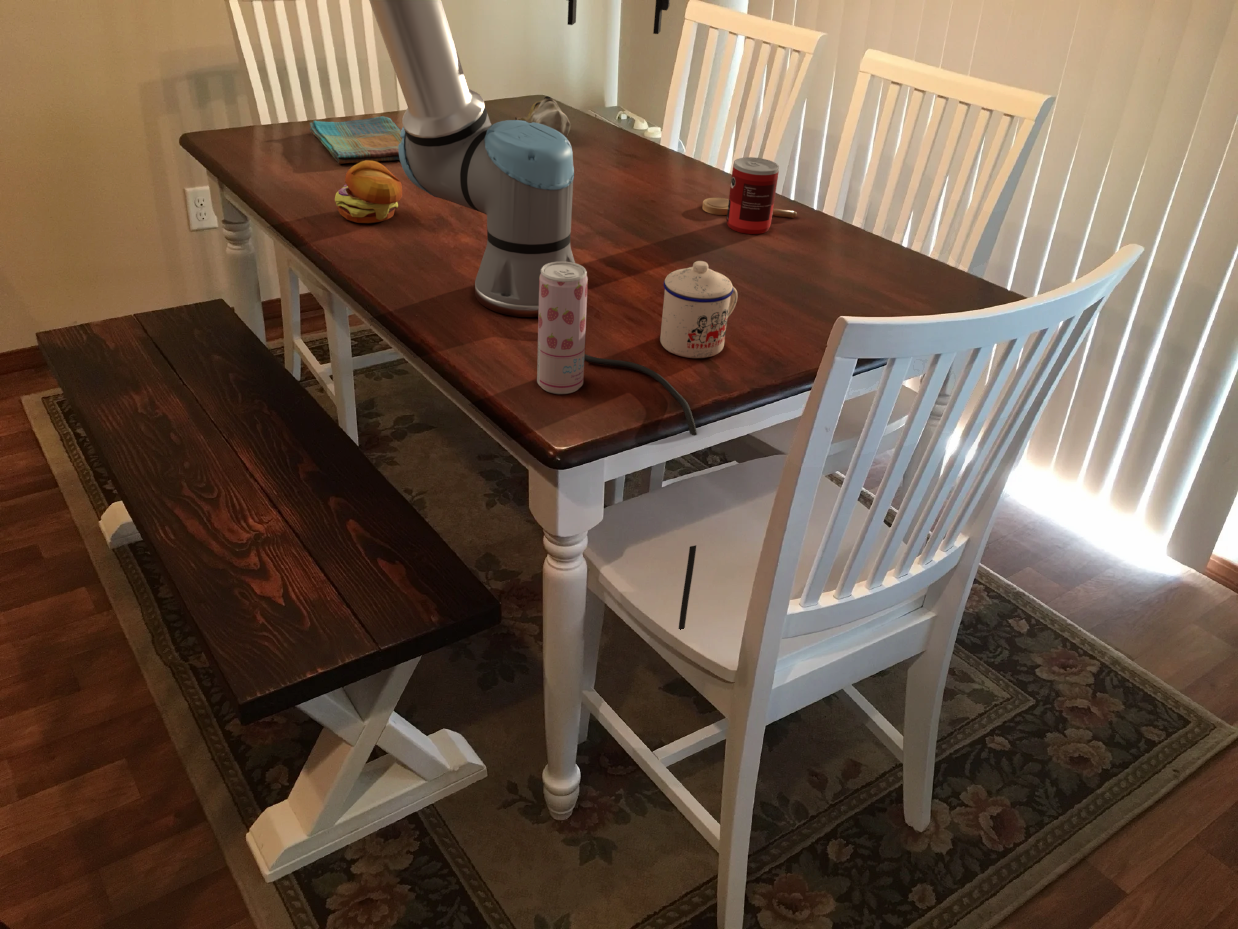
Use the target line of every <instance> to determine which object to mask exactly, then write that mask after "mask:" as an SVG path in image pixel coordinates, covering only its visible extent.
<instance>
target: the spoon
mask: <svg viewBox="0 0 1238 929" xmlns="http://www.w3.org/2000/svg"><path fill="white" fill-rule="evenodd" d="M728 203H729V198H724V197H708V198H705V199H704V200H703V201H702V208H701V209H702V210H703V211H704V212H706V213H708V214H710V215H714V216H715V215H716V216H727V211H728ZM797 215H798V214H797V211H796V210H790V209H789V210H788V209H779V208H773V213H772V217H781V218H792V219H794V218H796V217H797Z"/></svg>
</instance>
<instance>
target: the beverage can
mask: <svg viewBox="0 0 1238 929" xmlns="http://www.w3.org/2000/svg"><path fill="white" fill-rule="evenodd" d="M588 280H589V277H588V271H587V269H586V268H585V267H584V266H583V265H581V264H580V263H576V262H575V263H572V262H564V261H559V262H551V263H548V264H546V265H544V266H543V267H542V269H541V274H540V277H539V316H538V317H537V318H538V321H537V322H538V324H537V326H538V327H537V367H536V369H537V370H536V372H537V373H536V383H537V384H538V386H539V387H540V388H541V389H543V390H544V391H546V392H548V393H550V394H555V395H568V394H572V393H575V392H577V391H578V390H579V389H581V387H583V385H584V375H585V374H584V373H585V361H584V354H586V353H585V352H586V351H585V350H586V331H587V330H586V329H587V328H586V327H587V309H588V308H587V303H588V286H589V285H588V284H589V283H588V282H589V281H588Z"/></svg>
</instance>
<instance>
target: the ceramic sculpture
mask: <svg viewBox="0 0 1238 929" xmlns="http://www.w3.org/2000/svg"><path fill="white" fill-rule="evenodd" d="M514 120H522V121H526V122H528V123H532V122H535V123H539V124H543V125H546V126H548V127H550V128H553V129H555V130H557V131H558V132H560V133H561V134H563V135H564V136H565V137H566V138H567V137H568V136H569V133H570V130H571V125H572V124H571V122H570V120H569V118H568V116H567V115H566V114H565V113H564V112H563V111H562V109H561V107H560V106H559V104H558V102H557V101H556V100H554V99H553V98H552V97H551V96H549V95H547V96H545V97H544V98H543V99H542V100H537V101H535V102H534V103H533V104H532V105H531V107H530V109H529V112H528V115H527V116H524V117H517V116H516V117H514Z"/></svg>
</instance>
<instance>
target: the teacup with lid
mask: <svg viewBox="0 0 1238 929" xmlns="http://www.w3.org/2000/svg"><path fill="white" fill-rule="evenodd" d="M663 288H664V293H663V294H664V295H663V305H662V316H661V324H660V325H661V326H660V335H659V336H660V337H659V341H660V344H661V346H662V348H664V349H665V350H666V351H668V353H671V354H673V355H676V356H679V357H682V358H688V359H707V358H712V357H714V356H716V355H718V354H719V353H721V352H722V351H723V349H724V346H725V341H726V333H727V325H728V318H729V317H730V316H731V314H732V313H733V312H734V311H735V310H734V309H735V308H736V305H737V303H738V295H739V294H738V291H737V289H736V288H735V286H733V283H732V281H731V280H730V279H729V277H727V276H725V275H724V274H722V273H721V272H718V271H714V270H713V269H711V268H709V264H708V262H706V261H703V260H697V261H695V262H693V264H692V266H690V267H687V268H680V269H676V270H674V271H673V270H672V271H671V272H670V273H668V274H667V276H666V277H665V279H664V281H663Z"/></svg>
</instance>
